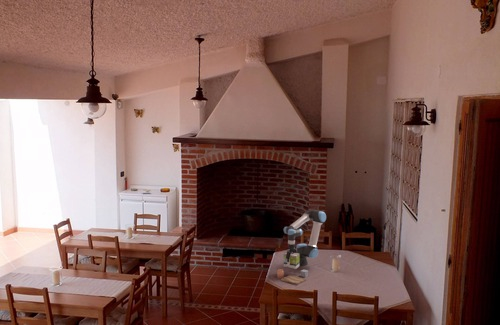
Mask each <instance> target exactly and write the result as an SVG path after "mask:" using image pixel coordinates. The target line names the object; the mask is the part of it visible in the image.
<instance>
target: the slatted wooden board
mask: <svg viewBox="0 0 500 325" xmlns="http://www.w3.org/2000/svg"><path fill="white" fill-rule="evenodd" d="M306 280H307V279H306V278H304V277H301V276H300V277H299V276H295V275H291V274H289V275H287V276H284V278H282V279H280V282H281V281H282V282H285V283H287V284H288V283H289V284H292V285H294V286H295V285H296V286H299V285H301V284H302V283H304V282H306Z"/></svg>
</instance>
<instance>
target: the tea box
mask: <svg viewBox="0 0 500 325" xmlns="http://www.w3.org/2000/svg"><path fill="white" fill-rule="evenodd" d="M286 255H287V251H286V252H285V253H283V268H290V269H294V270H296V269H298V268H299V267H300V265H299V253H293V252H292V253H291V255H290V258H289V259H290V265H288V264H287V259H286Z"/></svg>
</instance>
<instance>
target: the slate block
mask: <svg viewBox="0 0 500 325" xmlns="http://www.w3.org/2000/svg"><path fill="white" fill-rule="evenodd" d="M300 277H301V278H307V277H309V270H308V269H302V270H300Z"/></svg>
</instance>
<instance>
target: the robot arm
mask: <svg viewBox="0 0 500 325" xmlns="http://www.w3.org/2000/svg"><path fill="white" fill-rule="evenodd" d="M310 220H311V221H312V223H313V224H312V225H313V226H312V229H311V234H310V237H309V242H308V244H307V243H298V244H296V238H297V237H301V236H302V235H303V229H302V228H300V227H301V226H302V225H304V224H305V223H306V222H308V221H310ZM326 220H327V215H326V213H325V212H324V211H322V210H321V211H320V210H317V209H316V210H315V209H310V210H308V211H306V212H304V213H303V214H302V216H301V217H299V218H298V219H297V220H296V221H294V222H293V223H291V224H290V225H289V226H284V228H283V233H284V234H287V247H288V249H286V252H287V255H286V259H287V264H288V265H290V259H289V258H290V255H291V253H292V252H293V253H299V267H300V266H302V267H303V266H308V265H309V261H308V258H311V259H315V258H317V257H318V255H319V249H318V246H317V243H318V240H319V235H320V231H321V227H322V226H321V225H323V224H324V223H325V222H326Z"/></svg>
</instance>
